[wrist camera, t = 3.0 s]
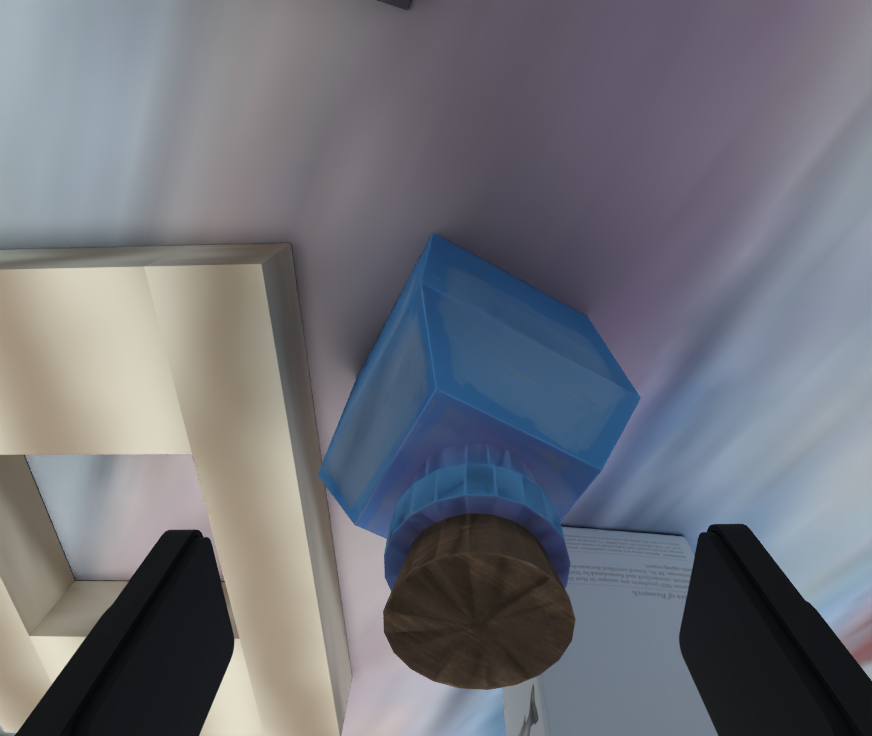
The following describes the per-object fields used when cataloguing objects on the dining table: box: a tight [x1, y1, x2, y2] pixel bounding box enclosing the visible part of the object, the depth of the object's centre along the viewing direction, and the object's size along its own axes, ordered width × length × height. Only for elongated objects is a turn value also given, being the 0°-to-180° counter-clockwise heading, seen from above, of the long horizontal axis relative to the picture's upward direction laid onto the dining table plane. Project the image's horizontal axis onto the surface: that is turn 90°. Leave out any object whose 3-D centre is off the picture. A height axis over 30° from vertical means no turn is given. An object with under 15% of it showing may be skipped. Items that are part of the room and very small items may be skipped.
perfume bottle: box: [318, 233, 640, 690], centre depth 14 cm, size 6×6×12 cm
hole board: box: [0, 243, 352, 736], centre depth 22 cm, size 16×22×3 cm
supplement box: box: [503, 527, 718, 736], centre depth 19 cm, size 7×7×13 cm
